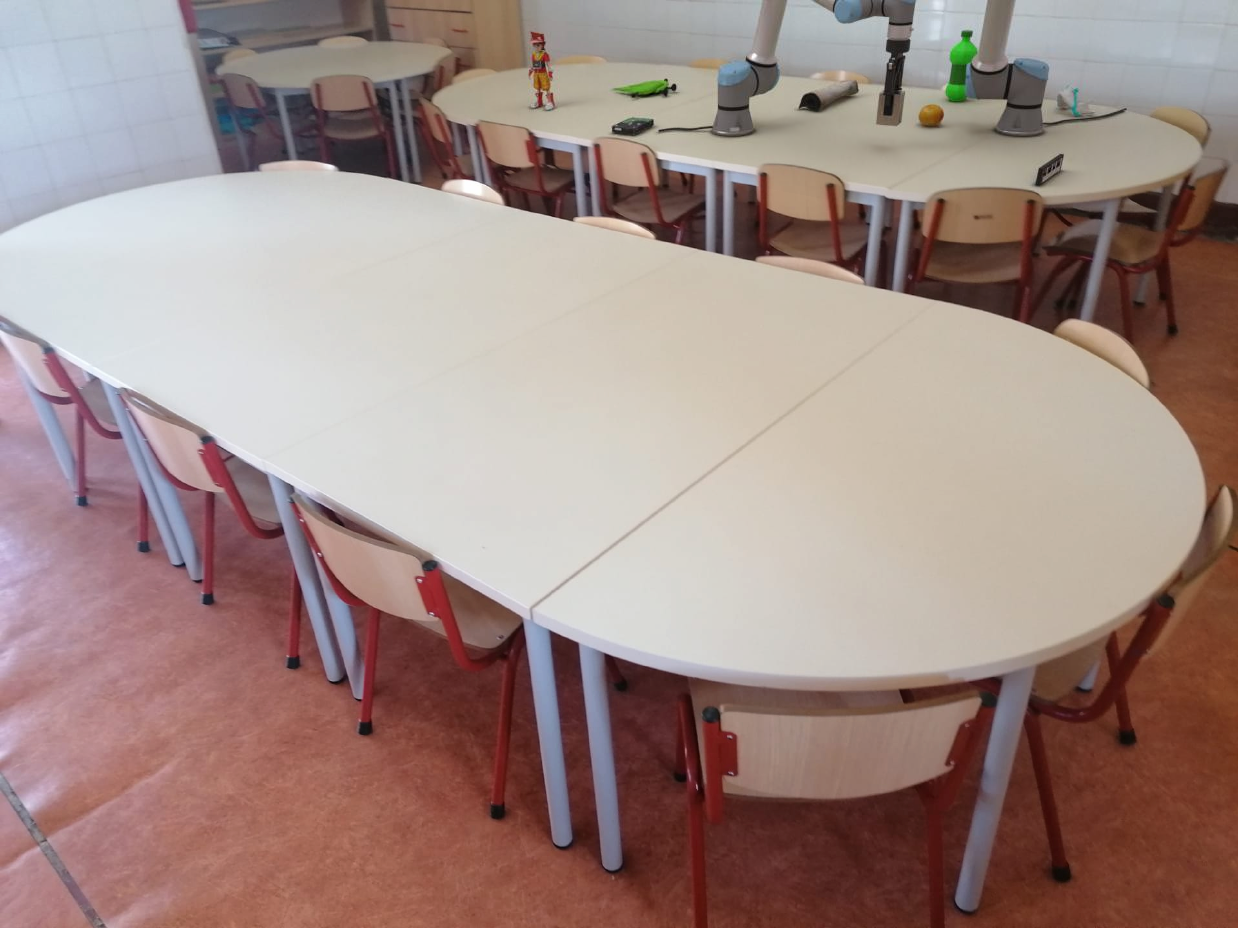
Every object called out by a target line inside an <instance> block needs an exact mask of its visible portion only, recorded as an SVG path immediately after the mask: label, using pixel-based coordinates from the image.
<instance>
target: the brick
mask: <svg viewBox="0 0 1238 928" xmlns="http://www.w3.org/2000/svg"><path fill="white" fill-rule="evenodd" d="M883 93H884V89H882V90H881V91H880V92H879V93H878V94H879V95H878V102H877V111H876V121H875V125H879V126H889V127H898V126H899V125H900V124H901V123H902V119H903V111H904V104H905V98H906V97H905V96H906V90H901V91H900V90H894V93H893V95H894V100H893V108H892V116H885V115H883V111H884V102H885V95H883Z"/></svg>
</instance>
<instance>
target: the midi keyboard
mask: <svg viewBox="0 0 1238 928" xmlns="http://www.w3.org/2000/svg"><path fill="white" fill-rule="evenodd" d="M1064 157H1065V153H1059V154H1058V155H1056V156H1055V157H1052V159H1051V160H1049V161H1047V162H1045V164H1042V165H1041V166H1039V167H1038V169H1037V175H1036V179H1035V186H1040V185H1042V183H1044V182H1045V181H1047V180H1048V179H1049V178H1051V177H1052V176H1054V175H1055V174H1056V173H1058V172H1060V171H1061V170H1062V165H1063V161H1064Z"/></svg>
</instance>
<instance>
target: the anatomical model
mask: <svg viewBox="0 0 1238 928" xmlns="http://www.w3.org/2000/svg"><path fill="white" fill-rule="evenodd" d="M1077 93H1079V88H1078V87H1075V86H1074V85H1072V84H1071V85H1070V84H1068V85H1066V87H1065V89H1064V90H1062V91H1059V92H1058V93H1057V95H1056V102H1057V107H1058V108H1061V109H1065V108H1069V109H1070V110H1071V112H1072V114H1073V116H1074V117H1081V116H1083V115H1094V114H1095V113H1096V110H1093V109H1089V105H1090V104H1091V103H1092V102H1093V100H1092V99H1088V100H1085V101H1084V102H1081V103H1079V100H1078V95H1077Z"/></svg>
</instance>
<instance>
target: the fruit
mask: <svg viewBox="0 0 1238 928" xmlns="http://www.w3.org/2000/svg"><path fill="white" fill-rule="evenodd" d="M944 116H945V111H944V108H942V107H941V106H940V105H938V104H927V105H924V106H923V107H922V108H921V109H920V110H919V113H918V120H919V122H920V124H921V125H923V126H927V127H935V126H938V125H939V124H940V123H942V121H943V120H944Z"/></svg>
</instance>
